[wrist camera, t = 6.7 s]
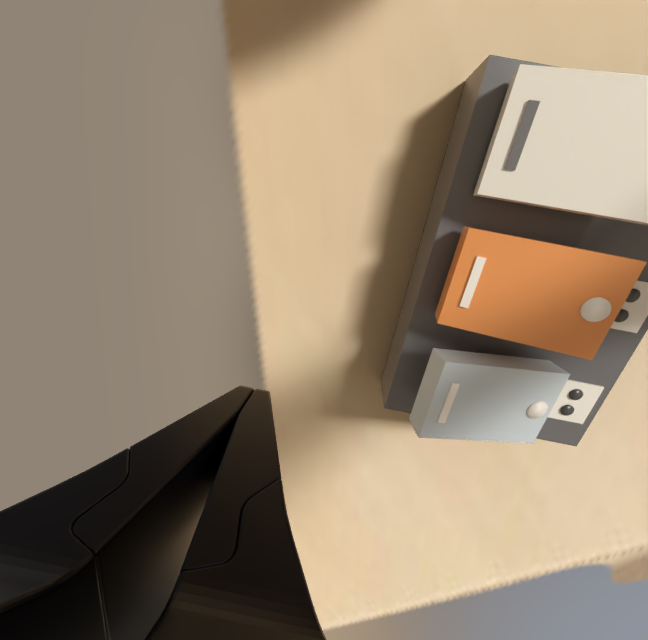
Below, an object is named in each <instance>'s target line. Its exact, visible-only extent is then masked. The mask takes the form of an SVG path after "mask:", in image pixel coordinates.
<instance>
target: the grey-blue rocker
mask: <svg viewBox="0 0 648 640" xmlns="http://www.w3.org/2000/svg"><path fill="white" fill-rule="evenodd" d="M569 376H570V373H568V372H567V371H565V370H563V369H562V368H560V367H559V366H557V365H556V364H554V363H553V362H551V361H550V360H542V359H533V358H523V357H514V356H504V355H495V354H485V353H476V352H466V351H457V350H448V349H438V348H433V350H432V353H431V355H430V358H429V361H428V364H427V367H426V370H425V373H424V376H423V379H422V382H421V385H420V388H419V391H418V394H417V397H416V400H415V403H414V406H413V409H412V412H411V415H410V417H409V421H410V423H411V424H412V426H413V428H414V430H415V432H416V434H417V436H418V437H419V438H438V439H457V440H477V441H496V442H515V443H534V441H535V439H536V437H537V435H538V434H539V432H540V430H541V428H542V426H543V424H544V423H545V421H546V419H547V417H548V415H549V413H550V411H551V410H552V408H553V406H554V404H555V402H556V400H557V398H558V397H559V395H560V393H561V391H562V389H563V387H564V385H565V384H566V382H567V380H568V378H569Z"/></svg>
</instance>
